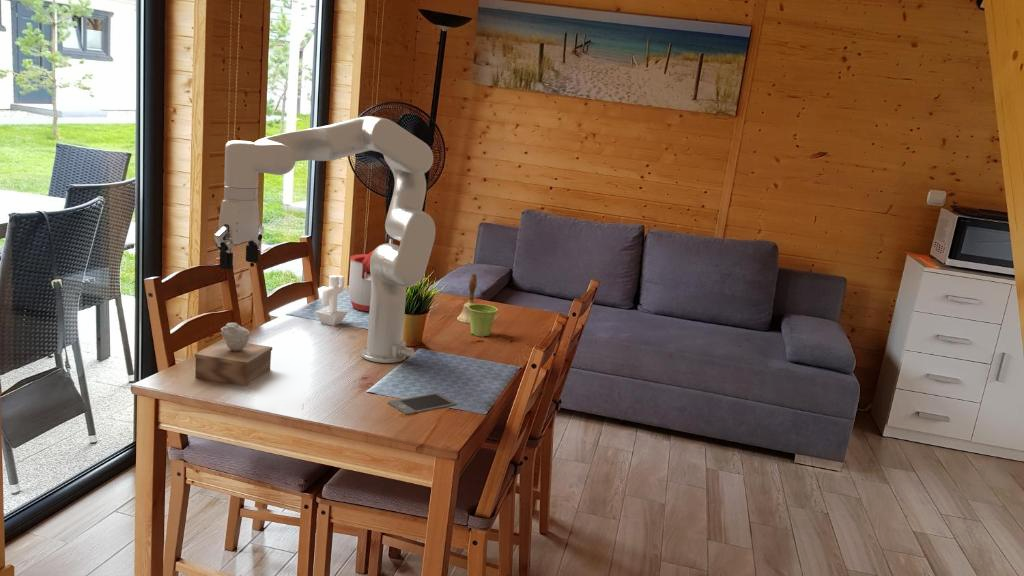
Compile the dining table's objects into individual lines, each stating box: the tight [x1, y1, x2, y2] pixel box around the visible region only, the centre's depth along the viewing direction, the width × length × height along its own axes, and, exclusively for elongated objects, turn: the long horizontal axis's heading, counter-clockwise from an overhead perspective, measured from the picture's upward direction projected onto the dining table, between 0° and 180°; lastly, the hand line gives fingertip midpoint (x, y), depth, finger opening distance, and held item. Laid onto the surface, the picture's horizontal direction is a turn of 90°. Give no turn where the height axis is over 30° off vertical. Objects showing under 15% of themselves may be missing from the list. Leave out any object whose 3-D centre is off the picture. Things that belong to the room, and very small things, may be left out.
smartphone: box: [387, 392, 457, 415], centre depth 196 cm, size 15×8×1 cm, turn 131°
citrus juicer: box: [348, 249, 375, 312], centre depth 272 cm, size 16×17×20 cm
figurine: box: [315, 275, 349, 327], centre depth 251 cm, size 7×9×15 cm
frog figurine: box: [220, 322, 252, 351], centre depth 199 cm, size 6×7×7 cm
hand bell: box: [456, 273, 478, 324], centre depth 272 cm, size 8×8×16 cm
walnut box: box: [194, 338, 273, 387], centre depth 201 cm, size 13×13×6 cm
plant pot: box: [468, 303, 499, 338], centre depth 258 cm, size 9×9×9 cm
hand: (239, 265), depth 195 cm, fingers open, 9 cm apart
